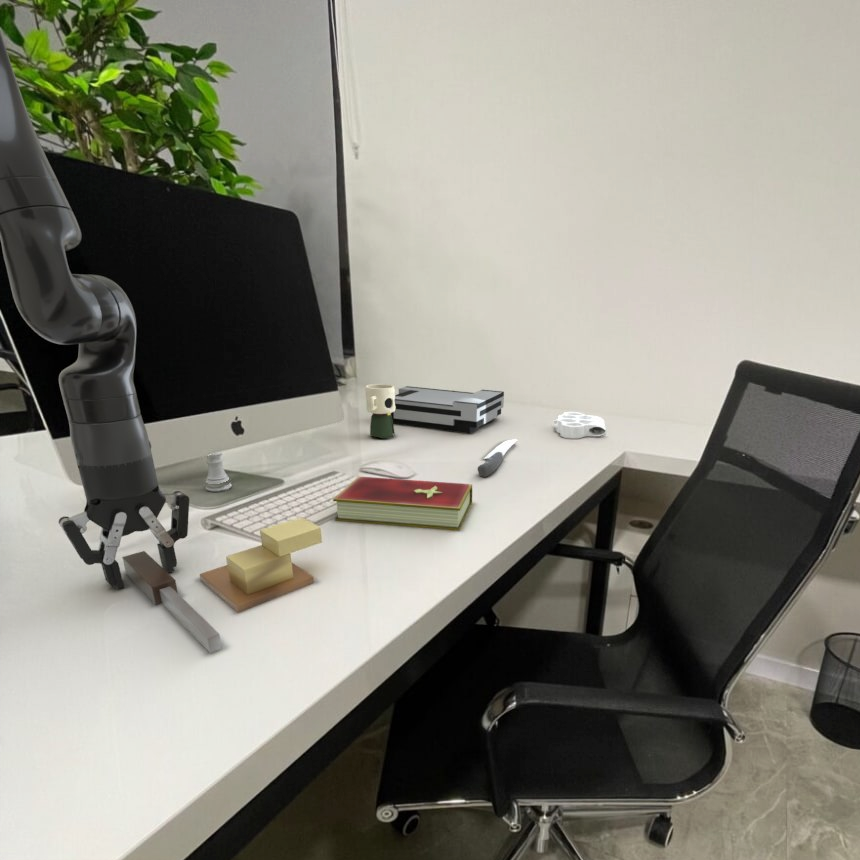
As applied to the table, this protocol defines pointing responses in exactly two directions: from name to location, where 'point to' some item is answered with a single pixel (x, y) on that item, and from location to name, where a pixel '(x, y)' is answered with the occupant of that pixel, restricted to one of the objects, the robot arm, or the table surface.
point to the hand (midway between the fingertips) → (143, 577)
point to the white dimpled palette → (579, 425)
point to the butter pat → (290, 536)
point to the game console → (446, 408)
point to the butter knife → (169, 597)
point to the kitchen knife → (494, 458)
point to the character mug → (381, 409)
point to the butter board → (256, 598)
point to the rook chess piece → (216, 473)
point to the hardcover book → (405, 503)
